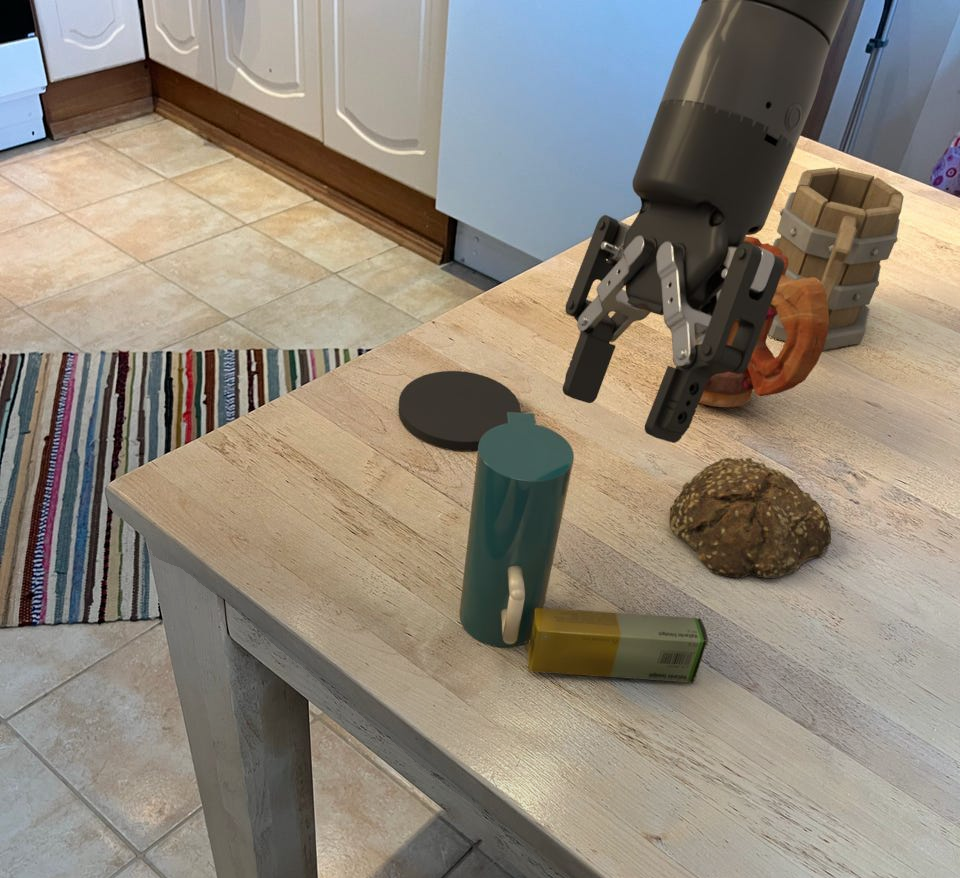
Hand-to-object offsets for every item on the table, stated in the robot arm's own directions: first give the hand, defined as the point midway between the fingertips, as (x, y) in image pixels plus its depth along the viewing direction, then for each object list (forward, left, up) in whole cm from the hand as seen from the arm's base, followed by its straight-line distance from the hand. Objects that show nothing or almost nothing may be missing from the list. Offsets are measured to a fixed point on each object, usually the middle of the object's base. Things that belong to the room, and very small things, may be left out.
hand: (616, 417), depth 57 cm
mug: (+10, +35, -19) cm, 41 cm away
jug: (-5, +1, -19) cm, 20 cm away
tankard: (+17, +52, -19) cm, 58 cm away
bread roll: (+12, +17, -19) cm, 28 cm away
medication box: (+3, -1, -19) cm, 20 cm away
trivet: (-14, +25, -19) cm, 34 cm away
